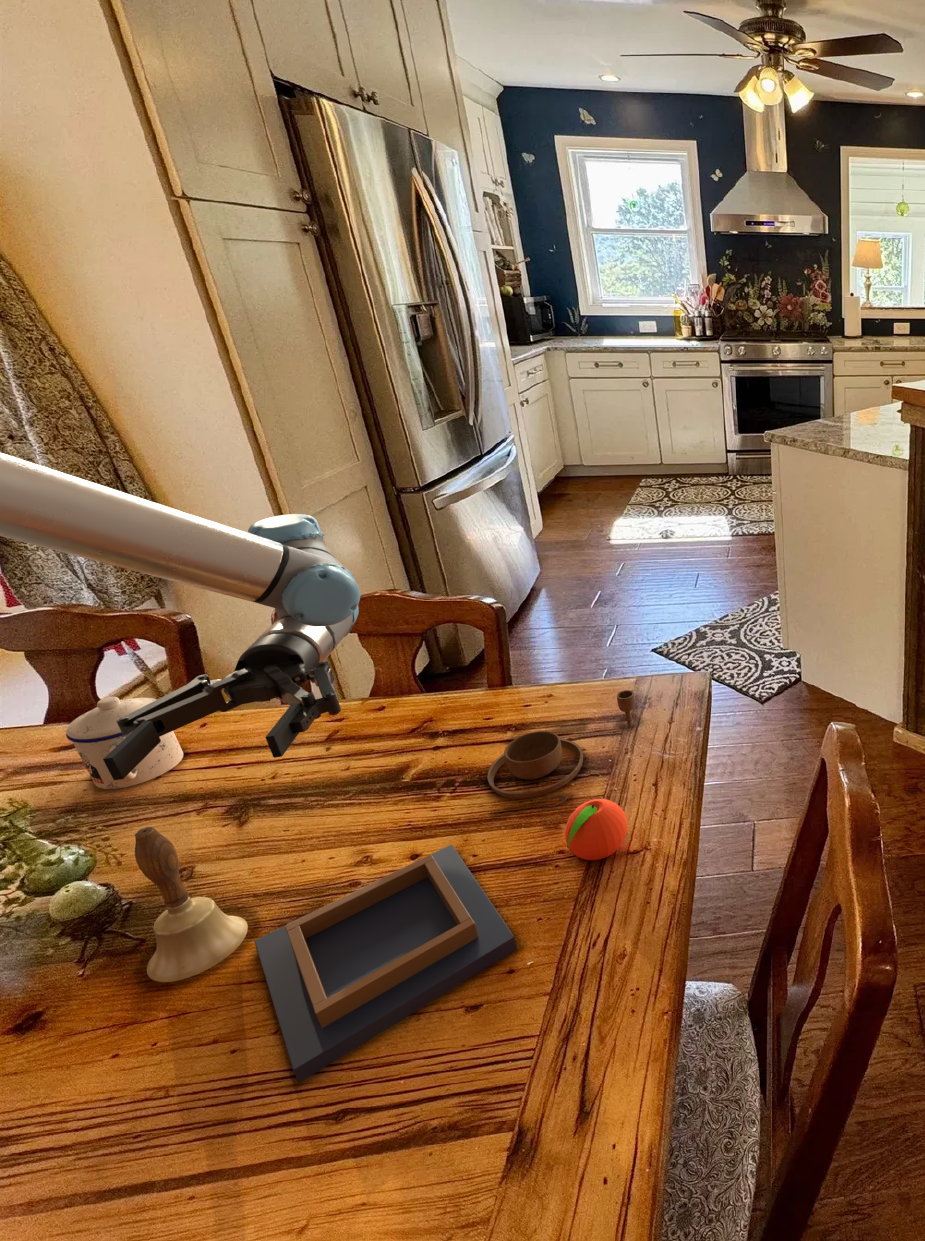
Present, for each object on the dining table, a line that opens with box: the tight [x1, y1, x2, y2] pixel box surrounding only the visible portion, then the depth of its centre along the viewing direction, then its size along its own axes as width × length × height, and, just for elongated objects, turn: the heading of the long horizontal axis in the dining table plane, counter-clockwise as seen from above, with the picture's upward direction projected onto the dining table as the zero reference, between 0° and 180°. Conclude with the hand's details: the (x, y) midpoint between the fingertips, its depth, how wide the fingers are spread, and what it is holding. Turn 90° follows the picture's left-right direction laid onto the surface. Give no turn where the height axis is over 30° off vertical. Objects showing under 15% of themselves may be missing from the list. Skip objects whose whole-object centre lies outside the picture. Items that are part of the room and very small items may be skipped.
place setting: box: [487, 689, 636, 808], centre depth 98 cm, size 18×20×6 cm
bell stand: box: [254, 843, 518, 1083], centre depth 71 cm, size 18×18×4 cm
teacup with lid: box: [65, 696, 184, 790], centre depth 92 cm, size 12×9×12 cm
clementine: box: [564, 798, 628, 861], centre depth 84 cm, size 8×7×7 cm
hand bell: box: [134, 826, 249, 983], centre depth 68 cm, size 8×8×16 cm
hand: (195, 758), depth 73 cm, fingers open, 13 cm apart
